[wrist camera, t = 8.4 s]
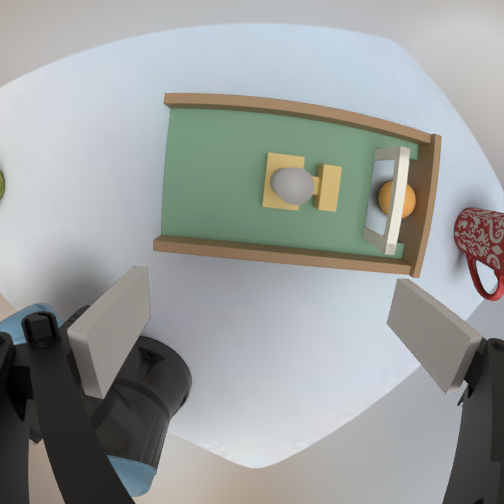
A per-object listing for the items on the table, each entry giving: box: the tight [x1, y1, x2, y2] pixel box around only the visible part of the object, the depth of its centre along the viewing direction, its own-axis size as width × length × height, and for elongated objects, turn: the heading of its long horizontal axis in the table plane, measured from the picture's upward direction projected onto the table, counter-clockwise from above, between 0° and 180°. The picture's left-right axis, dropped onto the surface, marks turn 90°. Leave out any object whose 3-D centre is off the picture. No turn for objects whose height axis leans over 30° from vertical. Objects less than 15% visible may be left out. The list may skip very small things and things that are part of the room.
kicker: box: [262, 152, 342, 212], centre depth 28 cm, size 8×6×11 cm
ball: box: [378, 180, 416, 219], centre depth 33 cm, size 5×5×5 cm
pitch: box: [153, 93, 441, 278], centre depth 31 cm, size 32×18×9 cm, turn 84°
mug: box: [454, 208, 504, 301], centre depth 31 cm, size 13×9×14 cm
